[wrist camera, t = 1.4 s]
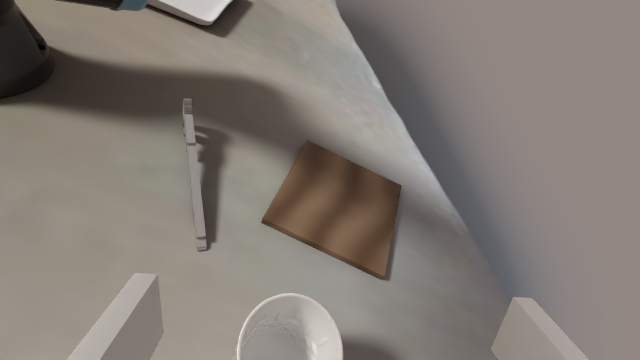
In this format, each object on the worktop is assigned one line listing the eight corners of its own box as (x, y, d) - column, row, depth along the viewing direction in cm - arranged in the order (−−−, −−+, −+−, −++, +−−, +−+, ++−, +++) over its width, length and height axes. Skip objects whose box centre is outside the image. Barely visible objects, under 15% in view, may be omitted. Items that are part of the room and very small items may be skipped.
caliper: (182, 126, 46) (181, 91, 41) (190, 126, 46) (190, 91, 42) (197, 252, 35) (198, 224, 30) (207, 250, 36) (210, 222, 31)
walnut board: (261, 222, 40) (262, 218, 39) (305, 144, 51) (307, 140, 51) (381, 279, 40) (384, 276, 39) (398, 189, 52) (401, 185, 51)
